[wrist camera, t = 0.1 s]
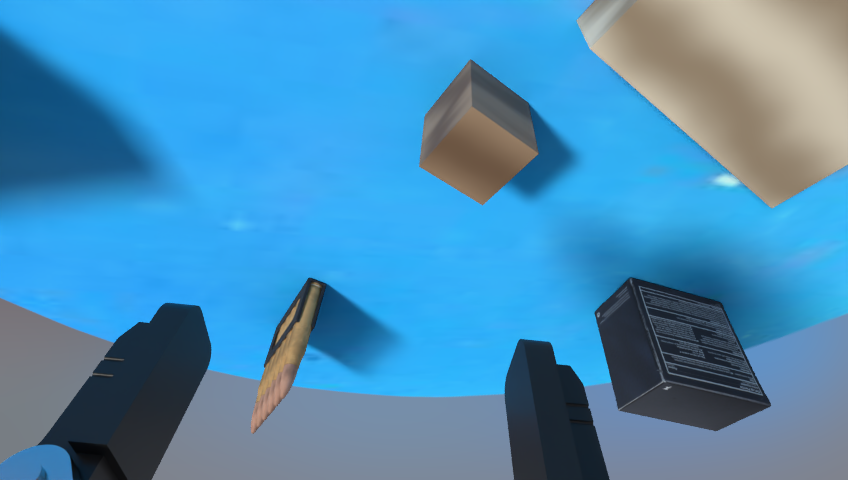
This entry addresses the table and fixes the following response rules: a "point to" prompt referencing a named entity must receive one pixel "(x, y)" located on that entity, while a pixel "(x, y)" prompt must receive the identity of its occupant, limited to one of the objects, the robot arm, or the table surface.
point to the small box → (676, 357)
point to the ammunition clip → (287, 350)
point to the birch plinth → (739, 80)
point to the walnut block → (477, 134)
